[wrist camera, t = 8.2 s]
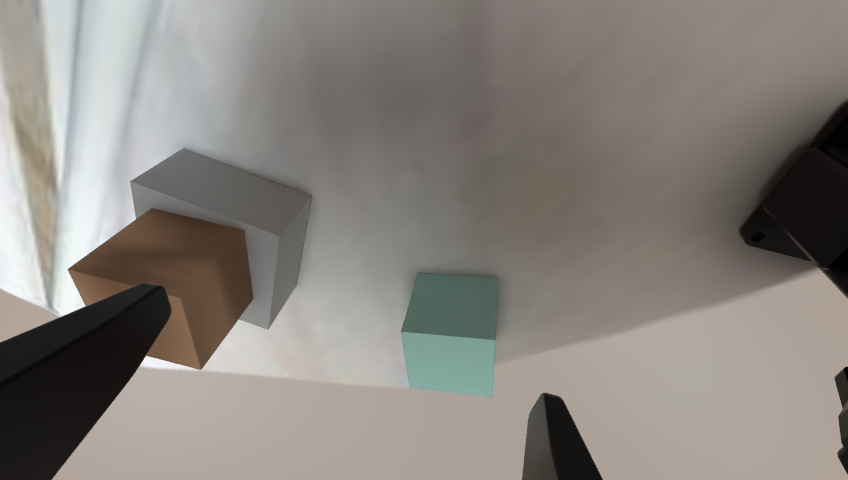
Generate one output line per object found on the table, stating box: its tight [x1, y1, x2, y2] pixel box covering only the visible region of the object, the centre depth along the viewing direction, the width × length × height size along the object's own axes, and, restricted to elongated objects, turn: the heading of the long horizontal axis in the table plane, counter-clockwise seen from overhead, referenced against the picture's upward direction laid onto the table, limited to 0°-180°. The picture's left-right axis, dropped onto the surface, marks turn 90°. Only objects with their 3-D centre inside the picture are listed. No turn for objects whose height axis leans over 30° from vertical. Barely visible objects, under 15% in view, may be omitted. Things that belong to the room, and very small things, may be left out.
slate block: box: [130, 148, 312, 329], centre depth 22 cm, size 7×7×4 cm
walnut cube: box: [68, 208, 254, 370], centre depth 18 cm, size 4×4×4 cm
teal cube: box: [401, 273, 498, 397], centre depth 23 cm, size 4×4×4 cm
